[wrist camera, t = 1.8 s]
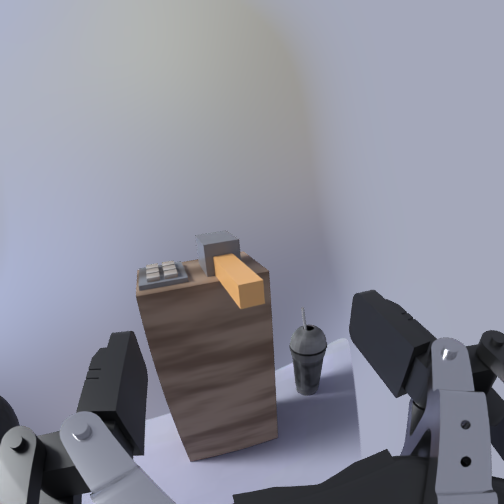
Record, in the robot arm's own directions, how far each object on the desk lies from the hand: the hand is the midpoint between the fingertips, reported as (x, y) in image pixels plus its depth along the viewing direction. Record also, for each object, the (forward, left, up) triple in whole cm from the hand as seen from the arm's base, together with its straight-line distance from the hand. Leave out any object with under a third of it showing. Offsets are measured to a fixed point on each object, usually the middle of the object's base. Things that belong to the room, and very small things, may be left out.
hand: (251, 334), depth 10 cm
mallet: (+21, +11, -7) cm, 25 cm away
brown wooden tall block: (+23, +17, -39) cm, 48 cm away
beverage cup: (+39, +5, -39) cm, 55 cm away
